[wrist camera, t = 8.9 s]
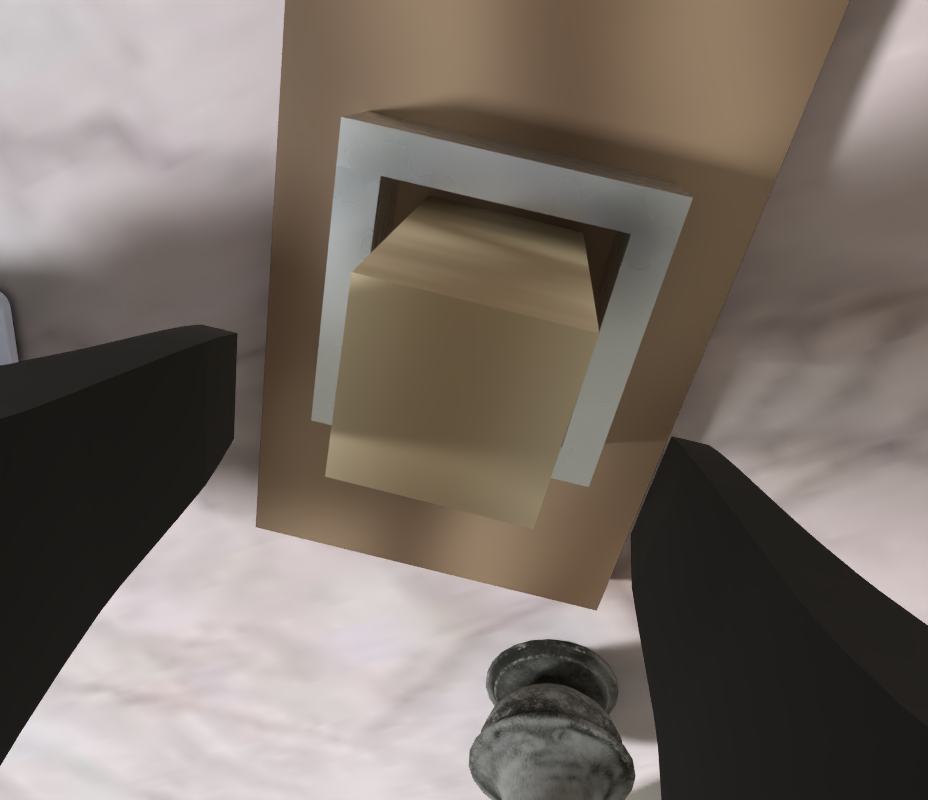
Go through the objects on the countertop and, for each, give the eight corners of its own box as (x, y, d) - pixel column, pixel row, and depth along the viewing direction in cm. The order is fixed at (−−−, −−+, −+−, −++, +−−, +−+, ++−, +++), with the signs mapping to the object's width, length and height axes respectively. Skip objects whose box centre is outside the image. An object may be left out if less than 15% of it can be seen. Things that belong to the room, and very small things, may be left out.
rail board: (272, 501, 23) (255, 526, 22) (324, -221, 14) (299, -252, 13) (594, 579, 23) (596, 610, 22) (866, -102, 14) (900, -121, 12)
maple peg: (403, 338, 18) (325, 476, 12) (429, 195, 16) (351, 272, 10) (541, 371, 18) (533, 528, 12) (582, 232, 16) (599, 333, 10)
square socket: (336, 384, 19) (311, 420, 17) (368, 110, 16) (341, 116, 14) (585, 444, 19) (588, 487, 17) (675, 181, 15) (692, 197, 13)
